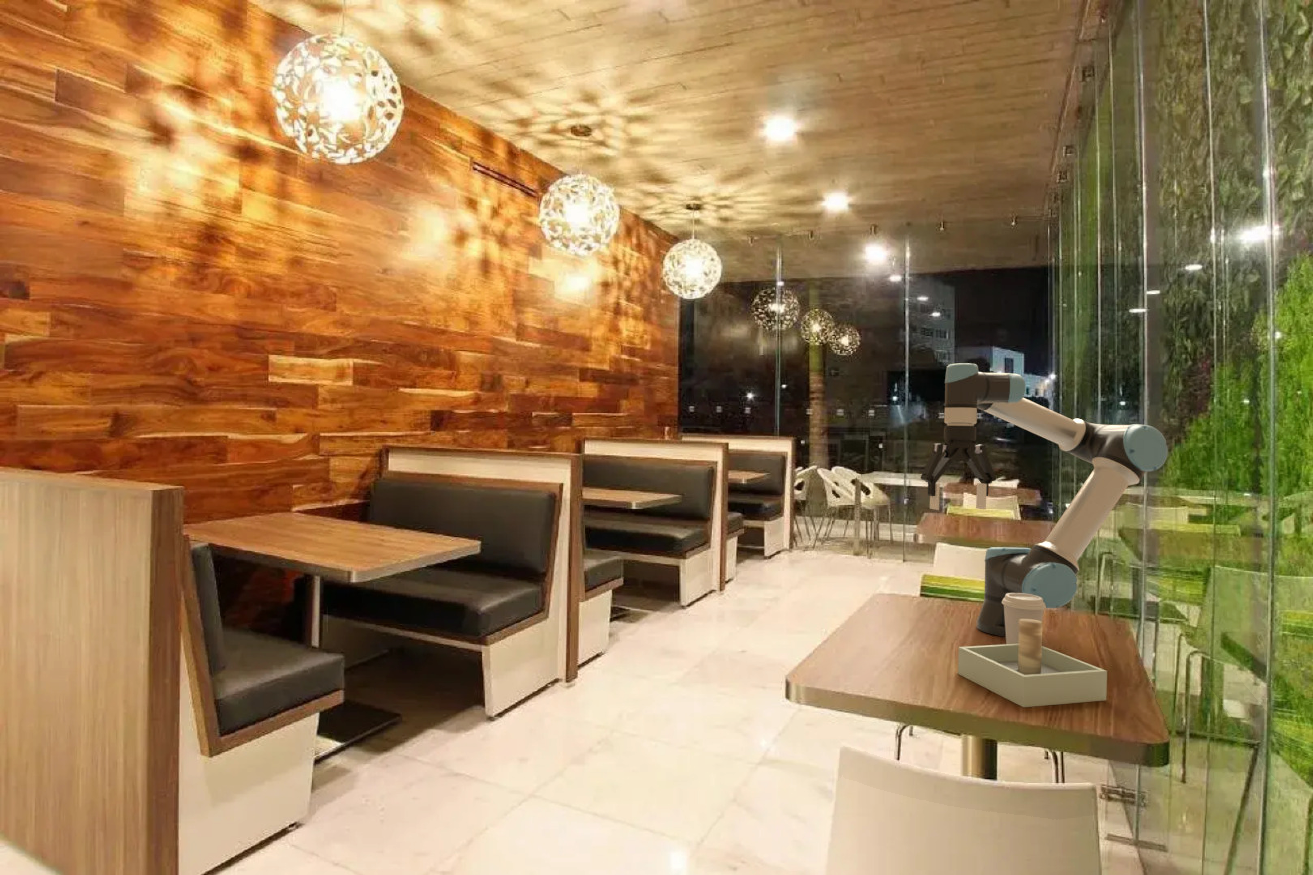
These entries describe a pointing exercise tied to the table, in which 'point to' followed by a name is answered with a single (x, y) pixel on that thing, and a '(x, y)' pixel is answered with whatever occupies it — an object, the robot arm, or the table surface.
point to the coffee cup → (1020, 612)
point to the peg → (1030, 646)
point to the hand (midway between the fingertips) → (957, 509)
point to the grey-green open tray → (1032, 676)
